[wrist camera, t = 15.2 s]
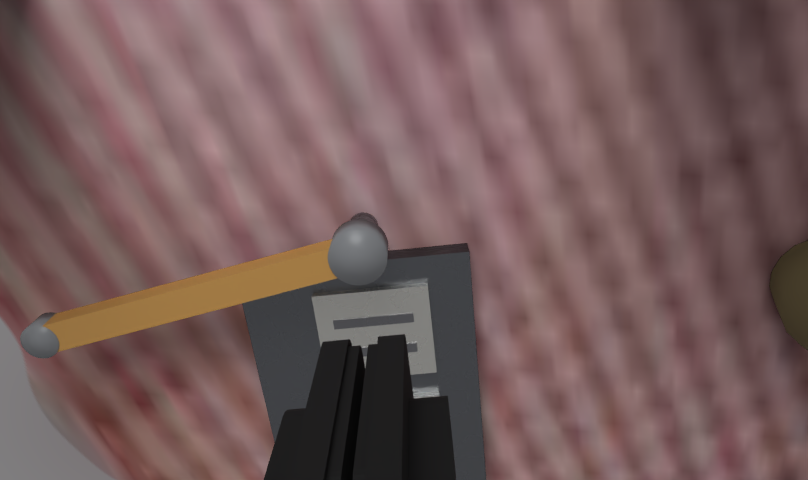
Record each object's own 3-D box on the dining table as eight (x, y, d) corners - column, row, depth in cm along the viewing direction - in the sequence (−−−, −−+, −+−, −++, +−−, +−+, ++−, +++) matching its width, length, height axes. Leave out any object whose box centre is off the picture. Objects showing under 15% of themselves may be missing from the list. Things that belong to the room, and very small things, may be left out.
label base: (464, 202, 41) (468, 218, 38) (483, 468, 50) (488, 498, 47) (231, 225, 42) (218, 243, 39) (291, 483, 50) (283, 514, 47)
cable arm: (395, 263, 39) (394, 277, 37) (52, 353, 42) (35, 370, 40) (378, 212, 38) (377, 224, 36) (26, 309, 40) (7, 324, 38)
